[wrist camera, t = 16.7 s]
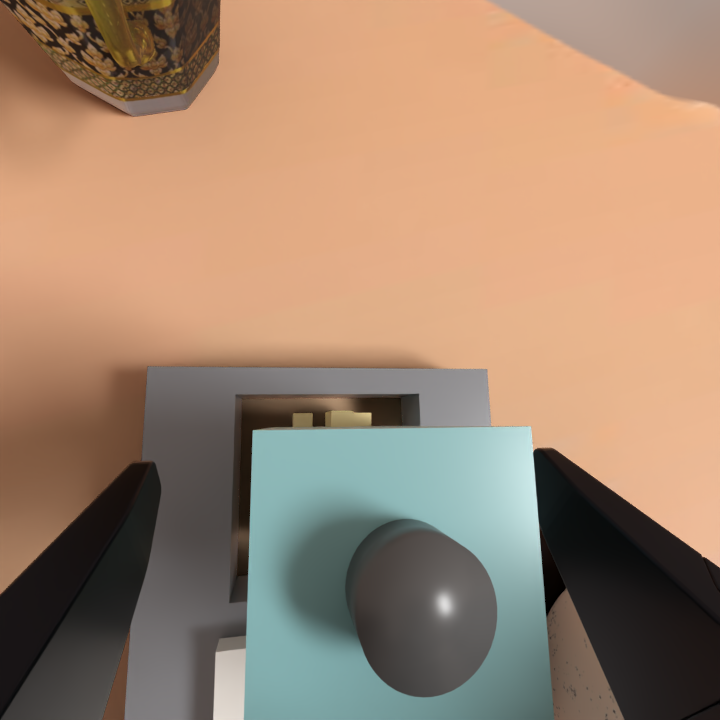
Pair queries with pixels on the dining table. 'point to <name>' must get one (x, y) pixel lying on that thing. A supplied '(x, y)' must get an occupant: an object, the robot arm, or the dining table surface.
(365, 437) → the teal rectangular bottle
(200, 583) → the socket plate
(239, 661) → the panel
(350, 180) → the dining table surface
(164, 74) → the ceramic cup
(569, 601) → the teacup with lid
